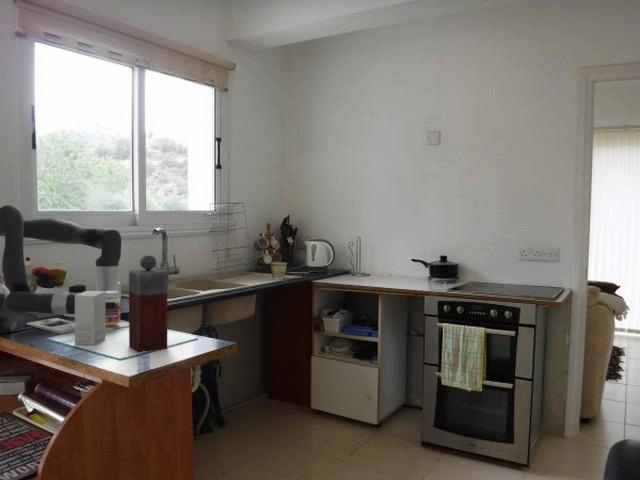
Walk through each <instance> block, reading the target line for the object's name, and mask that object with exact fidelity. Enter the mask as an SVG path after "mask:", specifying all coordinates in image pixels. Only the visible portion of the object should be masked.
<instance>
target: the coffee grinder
mask: <svg viewBox="0 0 640 480" xmlns="http://www.w3.org/2000/svg"><path fill="white" fill-rule="evenodd" d="M139 263H140V264H139V265H140V267H141V268H142V269H132V270H130V271H129V273H128V324H129V327H128V345H129V346H128V347H130V349H132V350H134V351H135V352H136V351H137V352H136V353H144V352H143V351H146V352H152V351H159V350H165V349H168V273H167V271H165V270H162V269H158V268H155V267H156V265H157V260H156V258H155V257H154V256H153V255H148V254H145V255H142V257H141V258H140V261H139Z"/></svg>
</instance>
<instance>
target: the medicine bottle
mask: <svg viewBox="0 0 640 480" xmlns="http://www.w3.org/2000/svg"><path fill="white" fill-rule="evenodd" d="M85 291H87V286H86V285H85V284H71V285H69V286H68V293H83V292H85ZM63 316H64V317H69V318H74V319H75V314H63Z"/></svg>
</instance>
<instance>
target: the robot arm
mask: <svg viewBox="0 0 640 480" xmlns="http://www.w3.org/2000/svg"><path fill="white" fill-rule="evenodd" d="M24 218H25V217H24V215H23V212H22V211H21V210H20V208H18V207H17V206H15V205H12V204H8V205H7V204H5V205H4V206H1V207H0V237H4V249H3V255H2V261H1V269H2V270H1V271H2V277H3V278H2V279H3V284H4V286H5V287H6V289H7V290H8V292H9V293H8V294H7V295H6V296H5V297H4V299H3V305H4V308H5V309H6V310H7V311H8V312H10V313H12V314H13V313H14V314H17V315H20V316H21V315H22V316H23V315H26V314H29V313H32V312H33V313H37V314H43V315H44V314H45V315H46V314H52V315H53V314H55V315H64V314H75V295H77V294H80V293H69V292H58V293H56V292H55V293H53V292H52V293H49V292H48V293H38V292H37V293H35V292H32V291H31V288H30V286H29V283H28V278H27V270H26V264H25V257H24V238H25V239H26V238H27V239H33V240H39V241H46V242H52V243H58V244H65V245H66V244H67V245H83V246H87V247H92V248H95V249H98V250H101V253H100V255H99V257H98V258H97V259H95V291H118V292H119V297H117V298H119V299H120V306H121V305H122V283H121V281H120V277H119V276H120V275H119V273H120V270H119V266H120V260H121V255H122V235H121V233H120V231H119V230H117V229H115V228H107V227H106V228H102V227H101V228H100V227H99V228H98V227H86V226H82V225H80V224H77V223H75V222H73V221H69V220H63V219H60V218H38V219H36V218H35V219H24ZM115 308H116V303H115V302H105V309H115Z"/></svg>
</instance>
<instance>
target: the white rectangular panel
mask: <svg viewBox="0 0 640 480" xmlns="http://www.w3.org/2000/svg"><path fill="white" fill-rule="evenodd" d="M60 323H61V324H62V325H56V326H48V325H54V324H60ZM28 325H30V326H29V327H32V326H33V328H37V329H40V330H45V331H48V332H53V333H57V334H60V335H61V334H62V335H63V334H69V333H73V332H74V333H75V321H72V320H67V319H63V318H59V317H54V318H48V319H42V320H35V321H31V322H26V326H28Z"/></svg>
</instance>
